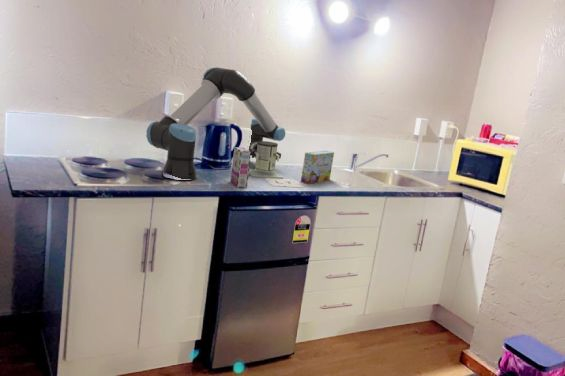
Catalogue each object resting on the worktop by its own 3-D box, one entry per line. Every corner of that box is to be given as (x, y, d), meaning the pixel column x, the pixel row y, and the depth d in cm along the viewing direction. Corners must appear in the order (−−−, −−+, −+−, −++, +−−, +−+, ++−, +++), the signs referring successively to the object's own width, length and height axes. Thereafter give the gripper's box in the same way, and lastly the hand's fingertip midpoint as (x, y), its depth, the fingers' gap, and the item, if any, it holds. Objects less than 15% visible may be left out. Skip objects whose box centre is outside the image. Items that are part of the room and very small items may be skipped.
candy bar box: (247, 188, 217) (251, 151, 214) (236, 187, 216) (240, 151, 212) (240, 182, 228) (244, 147, 224) (230, 181, 226) (233, 146, 222)
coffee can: (256, 166, 257) (259, 140, 254) (275, 169, 256) (279, 143, 253) (253, 170, 247) (256, 142, 244) (273, 173, 246) (276, 145, 243)
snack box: (309, 184, 242) (313, 154, 238) (300, 181, 245) (304, 152, 241) (330, 179, 259) (334, 151, 256) (321, 177, 262) (325, 149, 259)
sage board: (252, 176, 242) (252, 175, 242) (246, 169, 257) (246, 168, 257) (283, 178, 247) (283, 177, 246) (275, 171, 261) (275, 170, 261)
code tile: (271, 185, 228) (271, 185, 228) (264, 178, 243) (264, 177, 243) (304, 187, 232) (304, 187, 232) (295, 179, 247) (295, 179, 247)
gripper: (278, 158, 270) (288, 166, 250) (237, 155, 264) (245, 163, 243) (279, 144, 269) (290, 151, 248) (239, 141, 262) (246, 148, 242)
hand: (268, 157), depth 246 cm, fingers closed on coffee can, 10 cm apart
